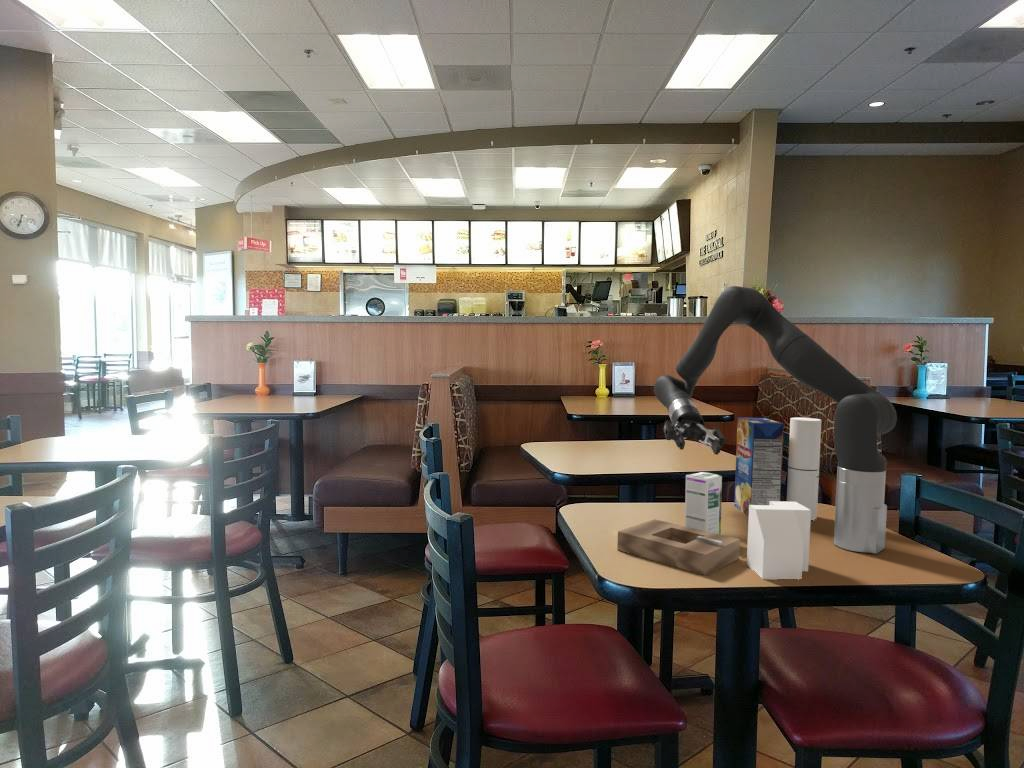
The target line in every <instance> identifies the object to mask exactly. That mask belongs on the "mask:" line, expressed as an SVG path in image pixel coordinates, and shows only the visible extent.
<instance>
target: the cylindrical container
mask: <svg viewBox="0 0 1024 768" xmlns="http://www.w3.org/2000/svg"><path fill="white" fill-rule="evenodd" d="M789 419H790V422H789V441H788V460H787V466H788V467H787V486H786V487H787V488H786V489H787V490H786V501H787V502H797V503H799V504H801V505H803V506H805V507H806V508H808V509H810V510H811V520H813V521H816V520H817V519H816V518H818V504H819V503H818V501H819V500H818V499H819V498H818V497H819V482H820V481H819V479H820V477H819V476H820V461H821V460H820V459H821V455H820V454H821V438H822V437H821V436H822V434H821V433H822V419H819V418H813V417H812V418H811V417H790V418H789ZM815 519H816V520H815Z"/></svg>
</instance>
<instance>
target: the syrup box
mask: <svg viewBox="0 0 1024 768" xmlns="http://www.w3.org/2000/svg"><path fill="white" fill-rule="evenodd" d="M722 480H723V476H722V475H720V474H717V473H711V472H705V471H704V472H703V471H700V472H697V473H691V474H686V475H685V497H684V498H685V502H684V503H685V504H684V505H685V507H684V514H685V515H684V526H685V527H690V528H694V529H698V530H702V531H707V532H711V533H715V534H719V535H722V534H721V533H722V529H721V528H722V497H723V496H722V493H723V491H722V488H723V486H722V485H723V481H722Z"/></svg>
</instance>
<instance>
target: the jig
mask: <svg viewBox="0 0 1024 768" xmlns="http://www.w3.org/2000/svg"><path fill="white" fill-rule="evenodd" d="M740 540H741V539H739V538H736V537H731V536H727V535H723V534H721V535H719V534H715V533H711V532H707V531H702V530H698V529H694V528H690V527H685V525H680V524H676V523H672V522H668V521H664V520H659V519H651V520H649V521H645V522H643V523H639V524H636V525H633V526H630V527H628V528H624V529H621V530H618V531H617V543H616V544H617V548H616V549H617V551H618V550H620V551H619V552H622V551H623V552H622V553H625V552H627V553H626V554H629V553H631V554H630V555H632V554H634V555H633V556H636V555H638V556H637V557H639V556H640V558H643V557H644V558H643V559H646V558H647V560H650V561H653V560H654V561H653V562H656V563H657V562H658V563H661V564H664V565H667V564H668V566H670V565H671V567H674V566H675V567H674V568H677V567H678V569H681V570H684V569H685V571H688V572H691V571H692V573H695V572H696V573H695V574H698V573H700V574H699V575H702V574H703V575H702V576H706V574H707V575H709V574H711V573H713V572H715V571H717V570H719V569H720V568H723V567H725V566H728V565H729V564H731V563H733V562H735V561H738V560H739V559H740V548H741V547H740V544H741V543H740V542H741V541H740ZM716 569H717V570H716ZM714 570H715V571H714ZM712 571H713V572H712ZM710 572H711V573H710ZM708 573H709V574H708Z"/></svg>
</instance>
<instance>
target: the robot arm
mask: <svg viewBox="0 0 1024 768" xmlns="http://www.w3.org/2000/svg"><path fill="white" fill-rule="evenodd" d="M733 323H734V324H742V325H746V326H748V327H750V329H753V330H754V331H755V332H756V333H757V334H758V335H760V336H761V337H762V338H763V339H764V340H765V342H766V343H767V346H768V348H769V352H770V354H771V356H772V357H773V359H774V360H775V361H776V363H777V364H778V365H779V366H781V368H783V369H784V370H785V371H786V373H788V374H789V375H790V376H792V377H793V378H794V379H796V380H797V381H799V382H800V383H802V384H804V385H806V386H808V387H809V388H811V389H813V390H815V391H818V392H819V393H822V394H824V395H825V396H827V397H828V398H829V399H831V400H833V401H834V402H835V403H837V405H836V409H835V412H834V417H833V418H834V422H833V425H834V426H833V431H834V433H833V436H834V438H833V439H834V440H833V446H834V453H835V456H836V458H837V472H836V473H837V474H836V489H835V490H836V491H835V492H836V493H835V508H834V509H835V510H834V511H835V512H834V529H833V530H834V531H833V544H834V545H835V546H836V547H838V548H840V549H843V550H847V551H852V552H858V553H865V554H866V553H869V554H874V555H877V554H879V553H880V552H881V551H883V550H884V549H885V548H886V534H887V533H886V532H887V530H886V529H887V514H888V506H887V504H885V494H886V477H887V475H886V473H887V458H886V457H885V455H883V454H881V453H880V452H879V450H878V436H882V435H886V434H887V433H889V432H890V431H892V430H893V429H894V428H895V427H896V424H897V422H898V420H897V419H898V416H897V412H896V411H897V410H896V409H895V406H894V405H893V403H892V401H890V399H888V398H887V397H886V396H884V394H882V393H880V392H879V391H877V390H876V389H874V388H873V387H872V386H870V385H868V384H867V383H865V382H864V381H862V380H860V379H859V378H858V377H857V376H855V375H854V374H853V373H852V372H850V371H849V369H847V368H846V367H845V366H844V365H843V364H841V363H840V362H839V361H838V360H837V359H835V357H834V356H832V355H831V354H830V353H829V352H827V351H826V350H825V349H824V348H823V347H822V346H821V345H820V344H819V343H817V342H816V340H814V339H813V338H812V337H810V336H809V335H808V334H807V333H805V332H804V331H803V330H801V329H800V328H799V327H797V325H795V324H794V323H793V322H792V321H790V320H789V319H787V318H786V317H784V315H782V313H780V312H779V311H778V309H776V307H775V306H774V305H773V304H772V303H771V302H770V300H768V299H767V297H765V295H764V294H763V293H761V292H760V291H759V290H756V289H754V288H750V287H745V286H737V285H735V286H732V285H731V286H729V287H727V288H725V289H724V290H723V291H722V292H721V293H720V295H718V298H717V299H716V301H715V303H714V305H713V306H712V308H711V311H710V312H709V314H708V316H707V318H706V320H705V321H704V323H703V325H702V328H701V329H700V331H699V332H698V335H697V337H696V338H695V340H694V341H693V343H691V345H690V347H689V348H688V349H687V351H686V352H685V353H684V354H683V356H682V358H680V360H679V361H678V363H677V365H676V367H675V370H676V371H675V372H676V373H677V375H678V376H679V377H680V378H681V379H682V380H680V379H679V378H677V377H674V376H672V375H669V374H663V375H661V376H659V377H657V378H656V380H655V381H654V384H653V385H654V386H653V393H654V395H655V397H656V398H657V400H658V401H659V402H660V403H661V404H662V405H663V406H664V407H665V408H666V410H667V412H668V416H669V418H670V420H668V419H666V420H665V422H664V426H663V432H664V437H665V439H666V440H667V441H671V440H673V442H674V443H675V445H676V447H677V448H679V450H680V451H681V450H683V451H684V448H685V445H686V440H694V441H697V442H700V443H701V444H703V445H708V446H709V447H710V449H711V450H712V452H713V454H714V455H717V456H718V455H719V454H720V452H721V450H722V448H723V447H724V442H725V440H726V438H725V436H724V435H723V433H722V432H721V430H720V429H719V427H713V429H709V428H708V427H707V426H705V421H704V418H703V416H702V415H701V412H700V411H699V409H698V407H697V406H696V404H695V403H694V402H693V399H692V395H693V392H694V389H695V387H696V384H697V383H698V381H699V379H700V377H701V376H702V375H703V374H704V373H705V372H706V370H707V369H708V368H709V366H710V365H711V363H712V362H713V361H714V358H715V356H716V352H717V348H718V347H717V346H718V343H719V340H720V339H721V337H722V335H723V334H724V333H725V331H726V330H727V329H728V328H729V327H730V326H732V325H733ZM683 380H684V381H683ZM674 431H675V432H674ZM711 440H712V441H711Z"/></svg>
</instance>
